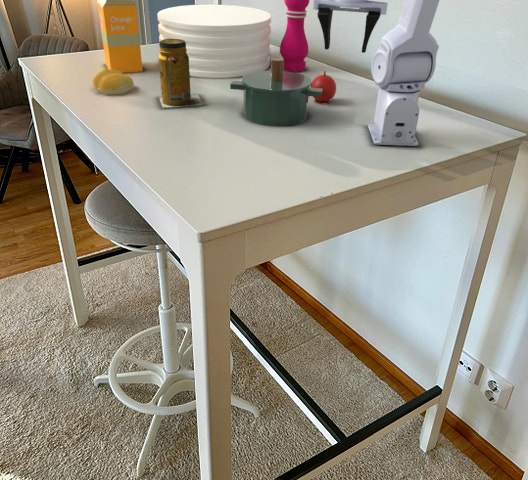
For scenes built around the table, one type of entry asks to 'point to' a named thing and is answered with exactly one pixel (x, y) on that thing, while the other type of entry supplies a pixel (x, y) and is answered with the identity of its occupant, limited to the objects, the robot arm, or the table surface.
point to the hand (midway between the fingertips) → (345, 50)
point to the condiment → (175, 75)
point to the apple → (324, 88)
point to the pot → (276, 105)
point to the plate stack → (219, 38)
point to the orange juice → (120, 35)
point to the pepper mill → (295, 37)
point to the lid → (276, 79)
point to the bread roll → (112, 82)
